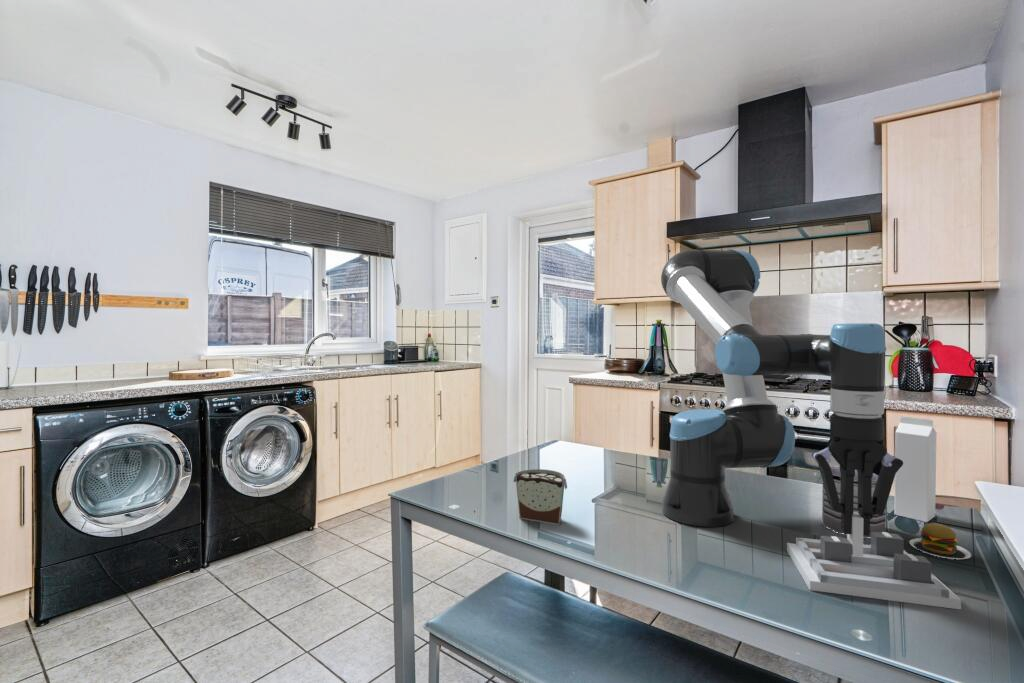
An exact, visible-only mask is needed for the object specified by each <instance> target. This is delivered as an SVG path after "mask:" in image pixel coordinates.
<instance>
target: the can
mask: <svg viewBox="0 0 1024 683" xmlns="http://www.w3.org/2000/svg"><path fill="white" fill-rule="evenodd" d="M829 466H830V468H831V471H832V475H833V478H834V482H835V486H836V490H837V494H838V498H839V501H840V485H841V472H840V465H830V464H829ZM878 476H879V474H876V473H874V472H873V477H872V491H871V500H872V496H873V493H874V490H875V486H876V483H877V480H878ZM857 506H858V473H857V470H855V476H854V500H853V512H857V513H858V514H859V511H858V509H857ZM821 508H822V509H821V511H822V512H821V514H822V515H821V516H822V517H821V521H823V522H822V526H823V527H824V526H825V527H824V528H826V527H828V528H830V529H831V530H830V529H829V530H830V531H832V530H834V531H835V532H834V531H833V532H834V533H836V532H838V533H837V534H839V533H844V532H843V531H842V529H841V512H838V511H835V510H834V509H833V508H832V507H831V506H830V505H829V503H828V500H827V496H826V492H825V488H824V484H823V483H822V506H821ZM886 521H887V506H886V507H885V510H884V513H883V514H882V515H878V514H877V515H873V518H872V519H870V534H869V536H864V535H863V537H871V532H880V533H882V532H886V530H887V528H886V525H887V524H886V523H887V522H886ZM828 528H827V529H828ZM844 534H845V533H844Z"/></svg>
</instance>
